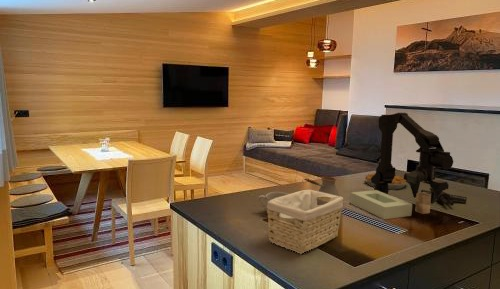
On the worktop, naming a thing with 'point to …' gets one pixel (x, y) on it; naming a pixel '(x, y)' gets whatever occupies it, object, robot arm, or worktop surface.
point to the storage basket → (304, 219)
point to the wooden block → (423, 203)
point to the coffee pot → (325, 187)
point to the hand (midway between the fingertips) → (423, 200)
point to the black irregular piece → (448, 198)
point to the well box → (381, 204)
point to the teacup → (270, 197)
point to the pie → (396, 183)
